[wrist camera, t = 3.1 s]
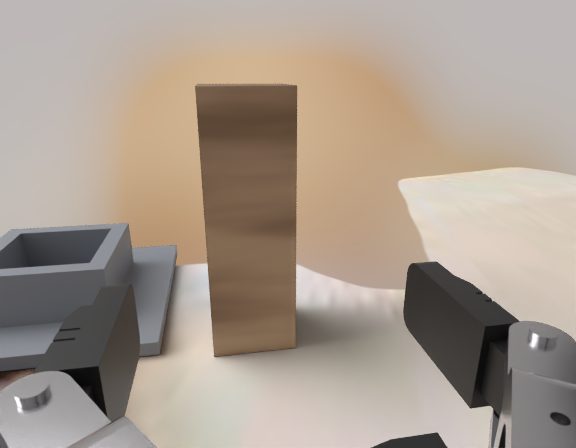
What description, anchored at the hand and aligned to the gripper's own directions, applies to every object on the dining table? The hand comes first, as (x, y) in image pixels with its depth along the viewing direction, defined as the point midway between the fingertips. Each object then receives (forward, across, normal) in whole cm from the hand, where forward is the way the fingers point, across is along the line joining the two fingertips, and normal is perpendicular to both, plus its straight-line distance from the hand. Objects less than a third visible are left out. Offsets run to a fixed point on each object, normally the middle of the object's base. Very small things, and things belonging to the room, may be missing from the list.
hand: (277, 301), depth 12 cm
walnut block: (+11, 0, +8) cm, 14 cm away
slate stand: (+17, +12, +8) cm, 22 cm away
